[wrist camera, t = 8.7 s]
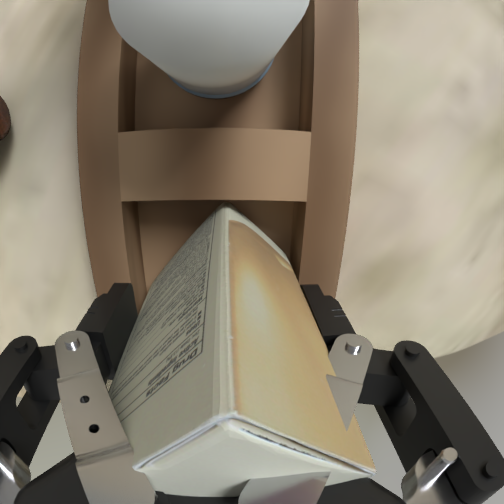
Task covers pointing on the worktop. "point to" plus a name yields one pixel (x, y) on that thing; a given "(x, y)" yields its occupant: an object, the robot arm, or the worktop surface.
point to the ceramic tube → (209, 39)
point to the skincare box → (231, 372)
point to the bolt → (4, 119)
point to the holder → (217, 151)
